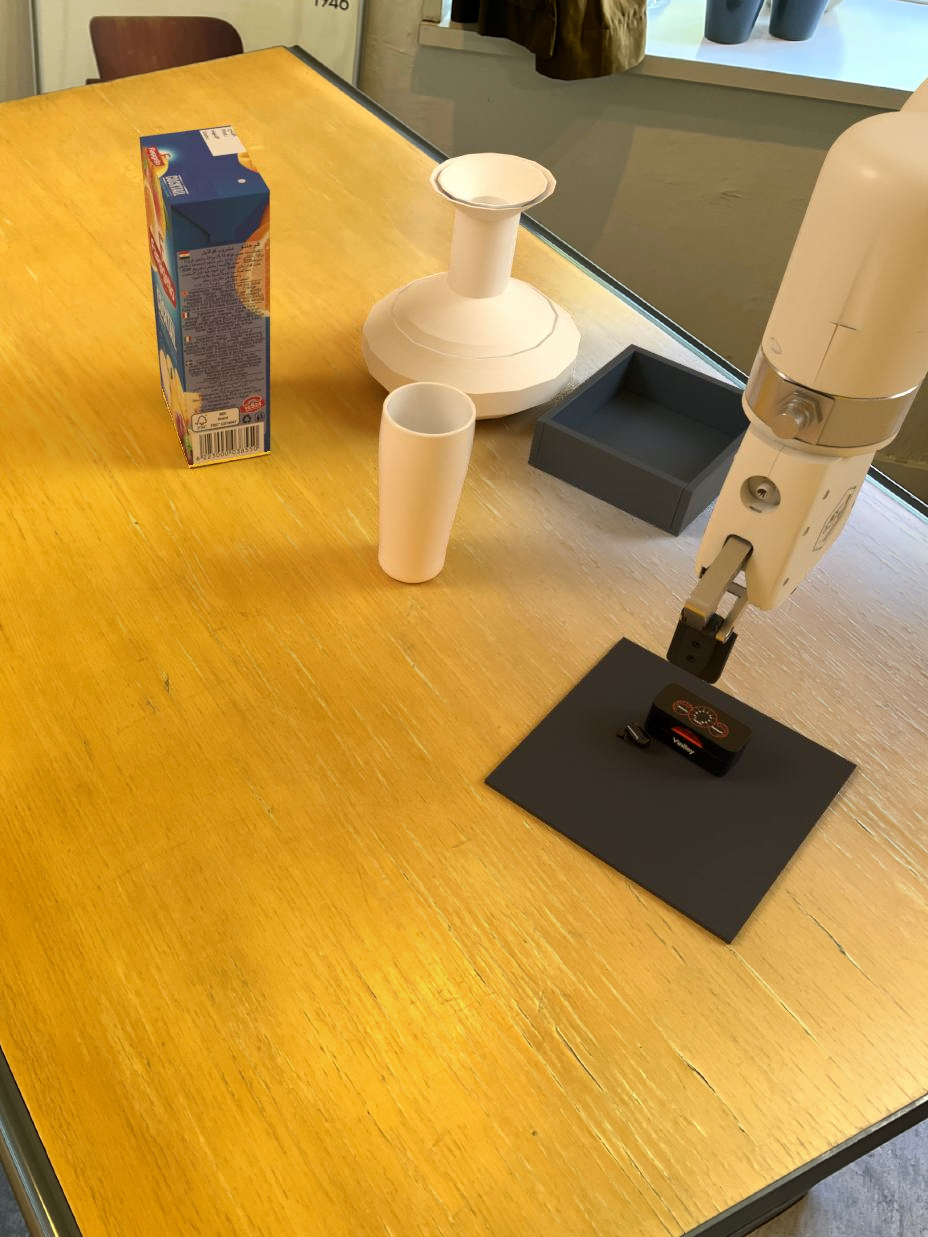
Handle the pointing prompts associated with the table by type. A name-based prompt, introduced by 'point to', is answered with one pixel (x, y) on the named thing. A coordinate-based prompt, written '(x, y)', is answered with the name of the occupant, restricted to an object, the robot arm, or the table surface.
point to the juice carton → (210, 289)
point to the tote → (645, 437)
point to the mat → (671, 791)
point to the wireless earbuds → (692, 730)
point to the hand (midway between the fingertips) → (731, 625)
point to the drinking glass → (421, 476)
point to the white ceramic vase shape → (477, 300)
